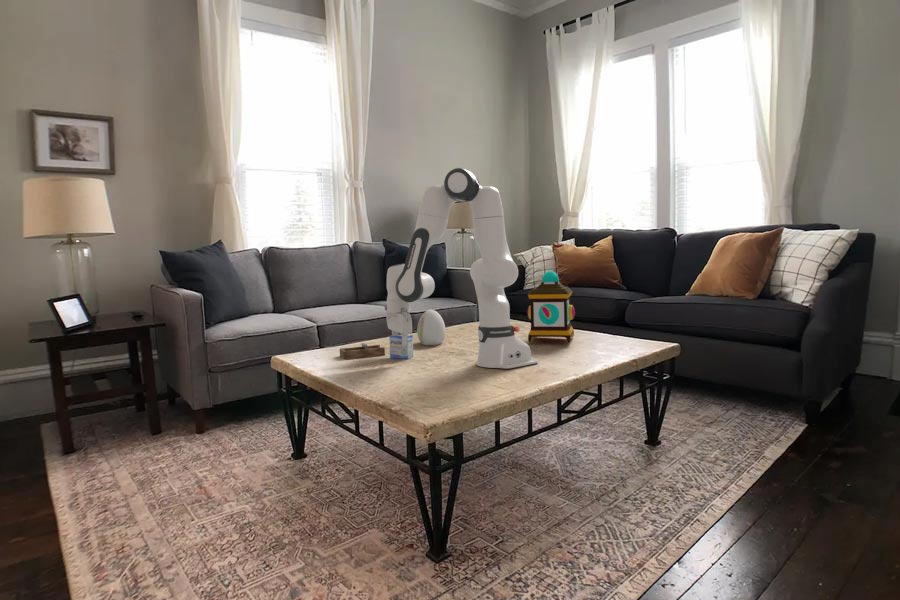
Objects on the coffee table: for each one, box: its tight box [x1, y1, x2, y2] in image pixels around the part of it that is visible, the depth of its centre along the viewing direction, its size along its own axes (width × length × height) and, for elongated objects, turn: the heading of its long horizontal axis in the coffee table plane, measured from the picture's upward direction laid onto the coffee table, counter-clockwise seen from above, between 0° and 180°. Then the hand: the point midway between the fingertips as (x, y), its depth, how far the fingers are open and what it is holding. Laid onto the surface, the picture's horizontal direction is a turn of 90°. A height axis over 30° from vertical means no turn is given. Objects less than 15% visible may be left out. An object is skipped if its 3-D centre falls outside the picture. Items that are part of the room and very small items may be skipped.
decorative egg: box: [416, 309, 447, 346], centre depth 235 cm, size 12×12×15 cm
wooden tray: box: [339, 344, 386, 360], centre depth 214 cm, size 16×8×3 cm, turn 113°
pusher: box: [361, 342, 368, 349], centre depth 214 cm, size 1×5×4 cm, turn 23°
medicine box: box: [388, 334, 414, 360], centre depth 206 cm, size 8×4×9 cm, turn 67°
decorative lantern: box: [527, 270, 576, 345], centre depth 233 cm, size 20×20×30 cm
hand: (399, 343), depth 206 cm, fingers open, 8 cm apart
